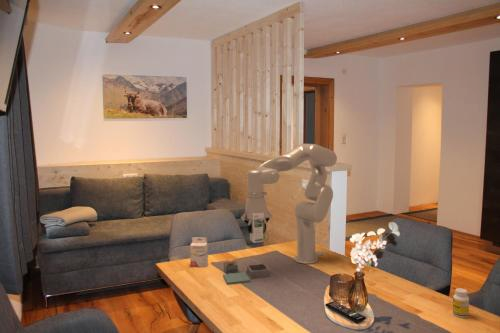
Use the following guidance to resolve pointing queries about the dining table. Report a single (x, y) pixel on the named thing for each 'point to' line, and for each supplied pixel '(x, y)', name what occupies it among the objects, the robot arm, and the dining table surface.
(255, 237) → the syrup box
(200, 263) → the ink cartridge box
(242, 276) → the mat
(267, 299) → the dining table surface
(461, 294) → the supplement bottle
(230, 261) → the plunger
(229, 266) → the plunger housing
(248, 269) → the frame
